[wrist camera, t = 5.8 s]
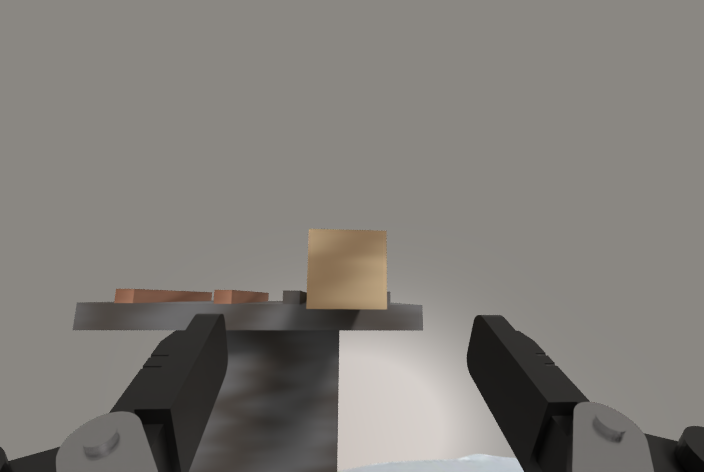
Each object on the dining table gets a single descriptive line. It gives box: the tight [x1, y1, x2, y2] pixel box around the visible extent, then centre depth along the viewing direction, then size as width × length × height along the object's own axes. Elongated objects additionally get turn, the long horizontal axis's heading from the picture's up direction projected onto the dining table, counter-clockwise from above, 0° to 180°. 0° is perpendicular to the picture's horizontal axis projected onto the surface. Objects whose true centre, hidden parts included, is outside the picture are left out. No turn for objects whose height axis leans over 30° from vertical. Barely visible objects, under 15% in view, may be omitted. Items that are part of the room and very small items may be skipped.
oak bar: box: [306, 229, 387, 309], centre depth 23 cm, size 3×22×3 cm, turn 5°
